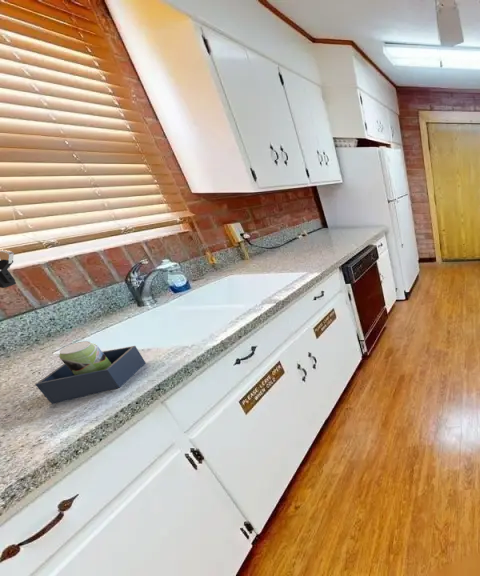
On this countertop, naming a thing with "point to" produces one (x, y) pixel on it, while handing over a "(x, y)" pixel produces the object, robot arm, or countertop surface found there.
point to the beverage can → (84, 358)
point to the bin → (92, 377)
